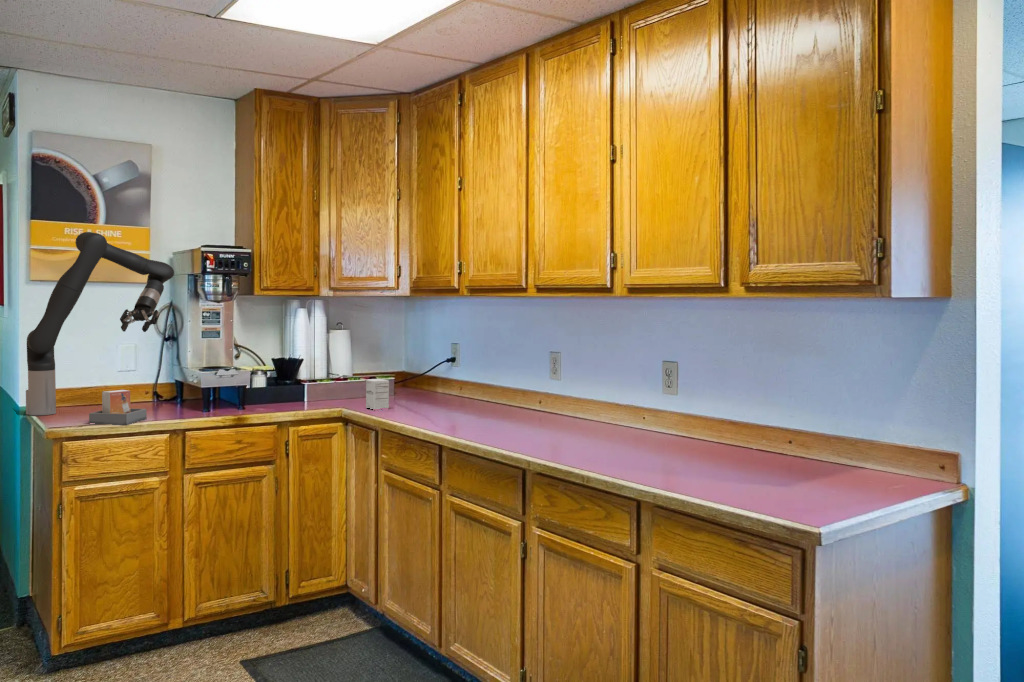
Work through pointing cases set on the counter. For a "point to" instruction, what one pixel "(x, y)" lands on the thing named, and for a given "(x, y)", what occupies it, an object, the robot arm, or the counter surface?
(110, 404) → the small box
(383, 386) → the supplement box
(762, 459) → the counter surface
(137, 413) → the grey tray
